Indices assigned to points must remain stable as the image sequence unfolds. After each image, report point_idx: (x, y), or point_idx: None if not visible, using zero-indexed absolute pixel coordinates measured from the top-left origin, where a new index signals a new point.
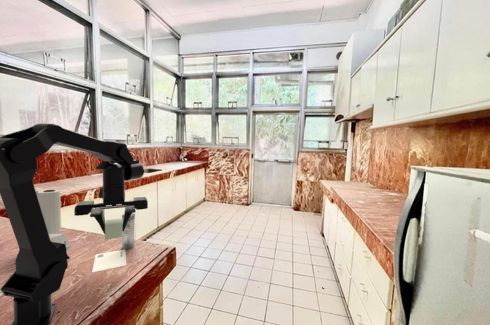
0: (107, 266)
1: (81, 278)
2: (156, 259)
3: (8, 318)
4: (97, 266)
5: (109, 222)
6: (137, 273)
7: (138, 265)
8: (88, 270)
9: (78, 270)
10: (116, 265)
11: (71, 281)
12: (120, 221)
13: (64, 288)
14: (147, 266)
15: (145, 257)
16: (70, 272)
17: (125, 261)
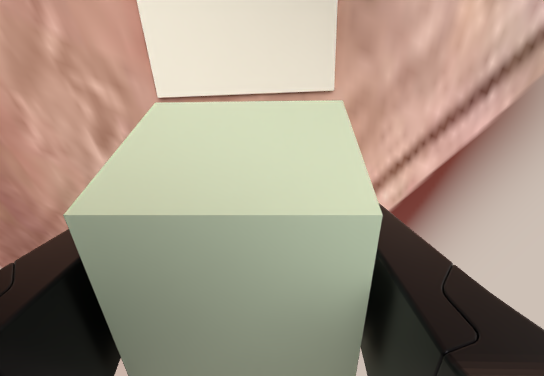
0: (228, 60)
1: (124, 126)
2: (516, 80)
3: (2, 267)
4: (167, 33)
5: (166, 333)
6: (377, 187)
7: (397, 111)
8: (128, 52)
9: (67, 26)
10: (278, 69)
11: (87, 135)
12: (330, 344)
13: (85, 179)
14: (438, 142)
15: (465, 17)
16: (31, 33)
17: (332, 36)
